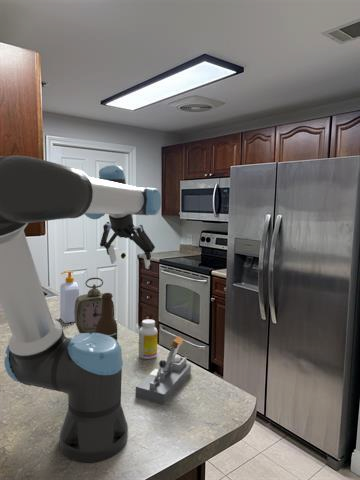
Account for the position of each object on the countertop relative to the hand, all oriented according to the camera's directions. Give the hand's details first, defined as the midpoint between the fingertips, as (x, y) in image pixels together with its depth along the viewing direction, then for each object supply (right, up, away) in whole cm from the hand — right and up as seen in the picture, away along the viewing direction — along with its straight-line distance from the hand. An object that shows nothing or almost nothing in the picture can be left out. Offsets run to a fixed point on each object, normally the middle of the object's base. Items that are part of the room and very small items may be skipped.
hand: (130, 263), depth 124 cm
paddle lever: (+14, -31, -20) cm, 40 cm away
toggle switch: (+11, -32, -27) cm, 43 cm away
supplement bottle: (+6, -34, 0) cm, 34 cm away
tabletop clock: (-17, -31, +14) cm, 39 cm away
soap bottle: (-34, -29, +35) cm, 57 cm away
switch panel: (+13, -35, -20) cm, 43 cm away
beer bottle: (-7, -34, -7) cm, 35 cm away
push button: (+16, -31, -14) cm, 38 cm away
